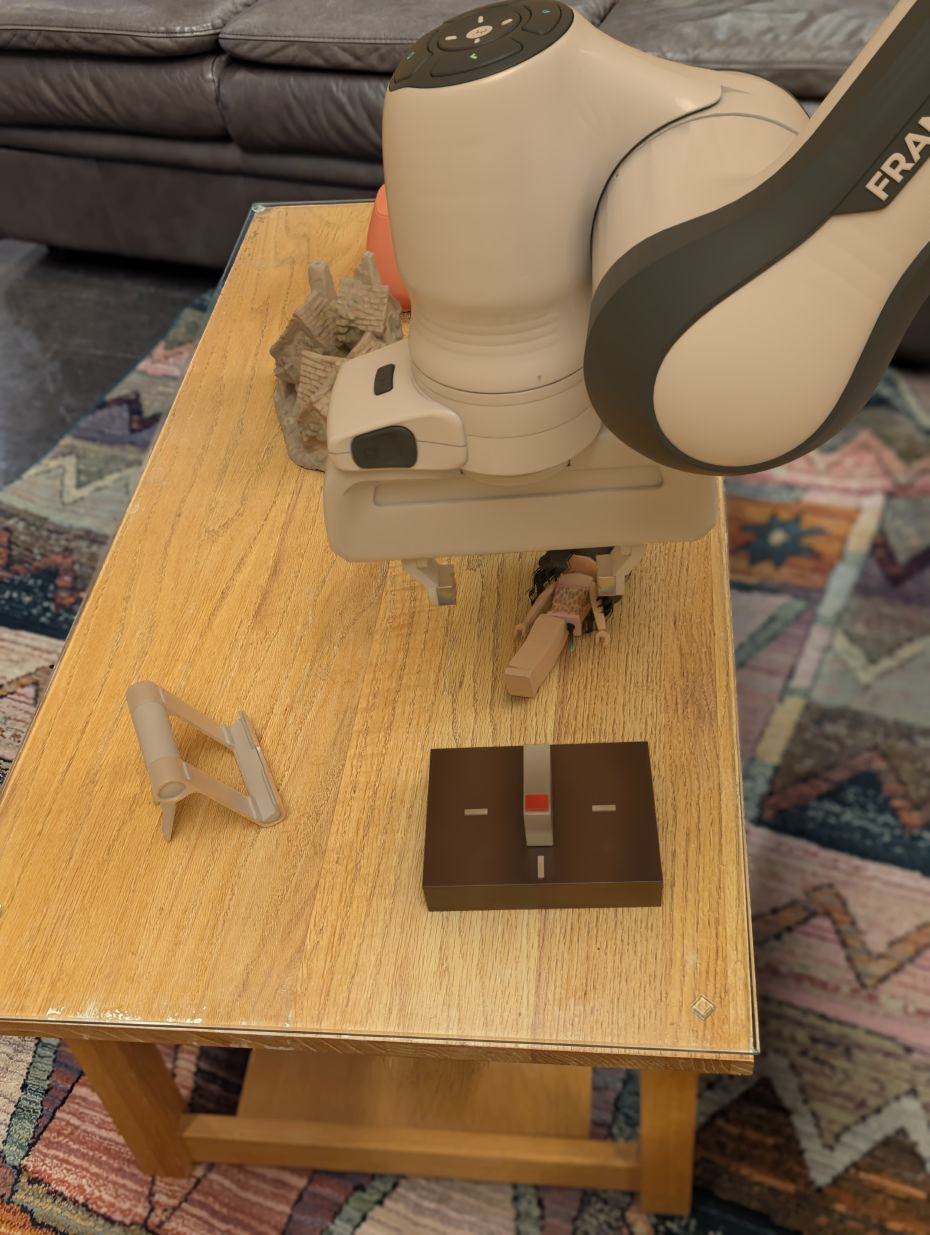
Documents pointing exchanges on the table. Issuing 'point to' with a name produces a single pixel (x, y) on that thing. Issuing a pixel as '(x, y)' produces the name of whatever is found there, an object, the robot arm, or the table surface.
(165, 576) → the table surface
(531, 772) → the dial
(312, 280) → the ceramic cottage
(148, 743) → the tablet stand
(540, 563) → the toy figure
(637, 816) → the dial panel
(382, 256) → the teapot
